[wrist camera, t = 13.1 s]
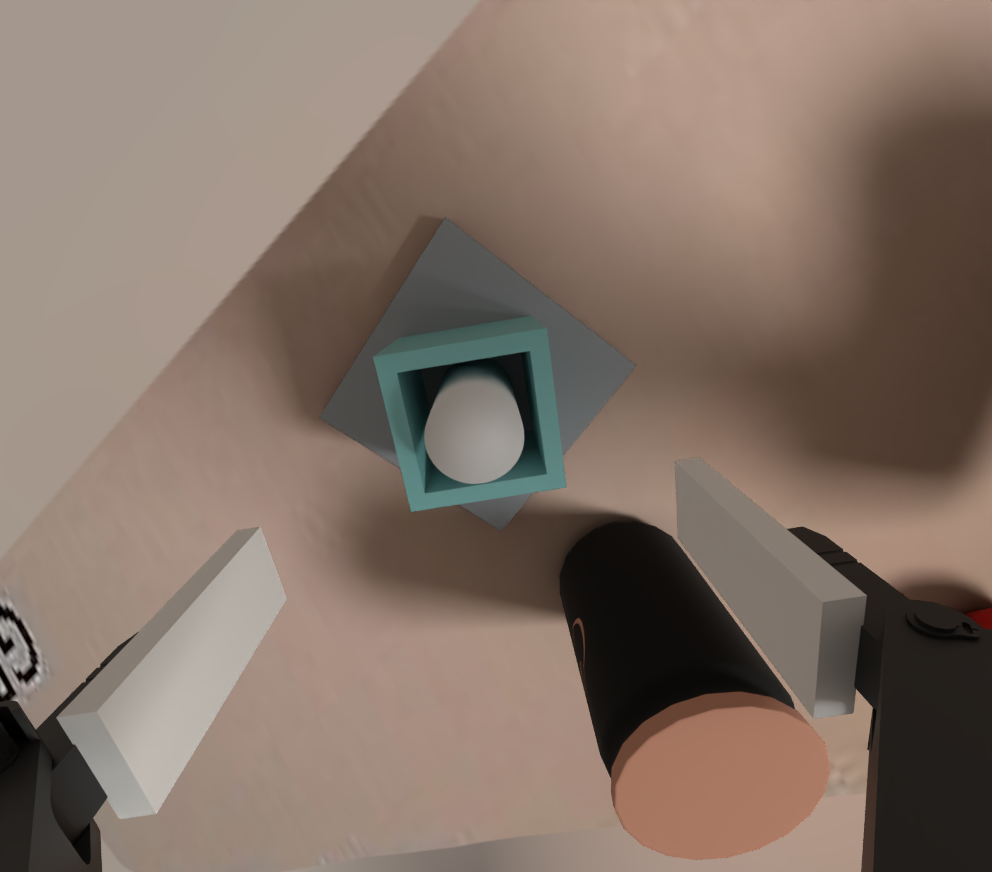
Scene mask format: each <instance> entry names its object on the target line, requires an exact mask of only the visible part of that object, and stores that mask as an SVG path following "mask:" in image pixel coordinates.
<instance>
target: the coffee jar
mask: <svg viewBox="0 0 992 872" xmlns="http://www.w3.org/2000/svg"><path fill="white" fill-rule="evenodd" d="M560 595H561V599H562V603H563V607H564V611H565V615H566V619H567V623H568V627H569V631H570V635H571V639H572V643H573V647H574V651H575V655H576V659H577V663H578V667H579V671H580V675H581V679H582V683H583V687H584V691H585V695H586V699H587V703H588V707H589V712H590V716H591V720H592V724H593V728H594V732H595V736H596V740H597V744H598V748H599V752H600V755H601V758H602V760H603V762H604V764H605V766H606V769H607V771H608V773H609V775H610V777H611V795H612V801H613V806H614V808H615V811H616V813H617V815H618V817H619V819H620V822H621V824H622V826H623V828H624V829H625V830H626V831H627V832H628V833H629V834H630V835H631V836H633V837H634V838H635V839H636V840H637V841H638V842H639V843H640V844H642V845H643V846H645V847H648V848H650V849H652V850H655V851H657V852H659V853H662V854H664V855H667V856H672V857H680V858H686V859H694V860H702V859H714V858H728V857H732V856H735V855H738V854H742V853H746V852H750V851H753V850H757V849H760V848H762V847H764V846H765V845H767V844H769V843H771V842H773V841H775V840H777V839H779V838H781V837H783V836H785V835H787V834H788V833H789V832H791V831H792V830H793V829H794V828H795V827H796V826H798V825H799V824H800V823H801V822H802V821H804V820H805V819H806V818H807V817H808V816H809V815H810V814H811V812H812V811H813V810H814V808H815V807H816V805H817V804H818V802H819V801H820V799H821V798H822V796H823V795H824V793H825V791H826V786H827V782H828V778H829V774H830V769H831V768H830V764H829V759H828V755H827V750H826V746H825V743H824V742H823V740H822V739H821V738H820V737H819V736H818V734H817V733H816V732H815V731H814V729H813V728H812V727H811V726H810V725H809V723H808V722H807V721H806V720H805V719H804V718H803V716H802V715H801V714H800V713H799V712H798V711H797V710H795V707H794V703H793V701H792V699H791V696H790V695H789V693H788V692H787V691H786V689H785V688H784V687H783V685H782V684H781V683H780V681H779V680H778V679H777V677H776V676H775V675H774V673H773V672H772V670H771V669H770V668H769V666H768V665H767V664H766V662H765V661H764V660H763V658H762V657H761V656H760V654H759V653H758V651H757V650H756V649H755V647H754V646H753V645H752V643H751V642H750V641H749V639H748V638H747V637H746V635H745V634H744V632H743V631H742V630H741V628H740V627H739V626H738V624H737V623H736V622H735V620H734V619H733V618H732V616H731V615H730V614H729V612H728V611H727V609H726V608H725V607H724V605H723V604H722V603H721V601H720V600H719V599H718V597H717V596H716V595H715V593H714V592H713V590H712V589H711V588H710V586H709V585H708V584H707V582H706V581H705V580H704V578H703V577H702V576H701V574H700V573H699V572H698V570H697V569H696V567H695V566H694V565H693V563H692V562H691V561H690V559H689V558H688V557H687V555H686V554H685V553H684V551H683V550H682V549H681V547H680V546H679V545H678V544H677V542H676V541H675V540H674V539H673V537H672V536H670V535H669V534H667V533H665V532H663V531H662V530H660V529H658V528H657V527H655V526H652V525H647V524H642V523H638V522H620V523H611V524H608V525H605V526H602V527H600V528H597V529H594V530H593V531H591V532H590V533H589V534H587V535H586V536H584V537H583V538H582V539H580V540H579V541H578V542H577V543H576V544H575V546H574V547H573V548H572V550H571V551H570V552H569V553H568V555H567V556H566V558H565V561H564V564H563V567H562V570H561V573H560Z"/></svg>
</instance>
